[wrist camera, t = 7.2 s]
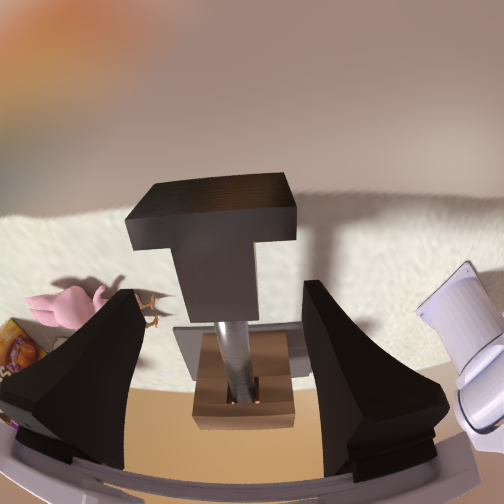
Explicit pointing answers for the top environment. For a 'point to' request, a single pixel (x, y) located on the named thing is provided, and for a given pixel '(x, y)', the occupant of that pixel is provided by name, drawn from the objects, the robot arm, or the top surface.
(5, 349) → the candy box
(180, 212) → the shaft
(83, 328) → the robot arm
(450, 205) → the top surface
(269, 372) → the bracket
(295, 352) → the mat
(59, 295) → the pink toy animal
